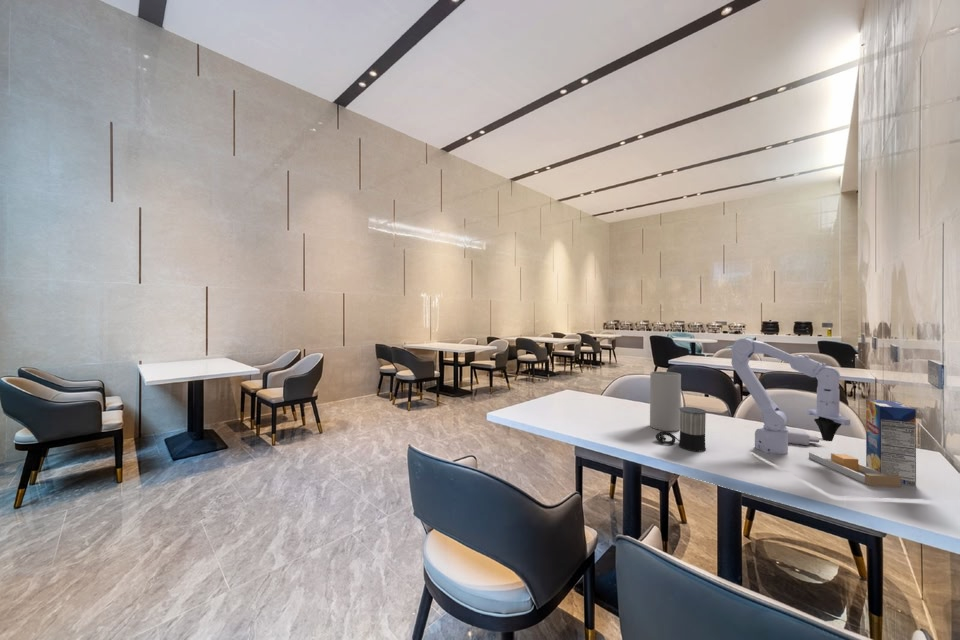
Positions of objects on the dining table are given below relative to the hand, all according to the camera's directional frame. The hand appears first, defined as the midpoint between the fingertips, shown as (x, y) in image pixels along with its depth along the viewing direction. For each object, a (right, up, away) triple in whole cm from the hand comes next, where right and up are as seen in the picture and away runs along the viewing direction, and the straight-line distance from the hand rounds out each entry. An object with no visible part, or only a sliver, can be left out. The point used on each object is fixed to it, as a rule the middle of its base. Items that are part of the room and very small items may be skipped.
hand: (827, 440), depth 127 cm
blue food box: (+8, -9, -12) cm, 17 cm away
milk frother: (-41, -8, +18) cm, 46 cm away
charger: (+10, -9, +23) cm, 27 cm away
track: (-1, -8, -8) cm, 12 cm away
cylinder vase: (-36, -8, +41) cm, 55 cm away
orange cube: (-1, -7, -7) cm, 10 cm away
